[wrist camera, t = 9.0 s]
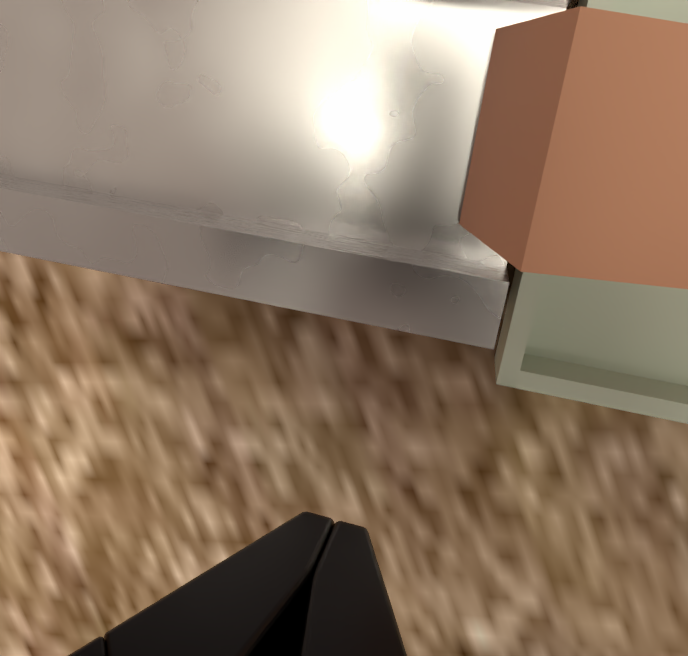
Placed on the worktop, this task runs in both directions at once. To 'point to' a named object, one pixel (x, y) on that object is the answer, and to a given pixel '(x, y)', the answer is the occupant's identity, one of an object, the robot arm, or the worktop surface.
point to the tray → (600, 321)
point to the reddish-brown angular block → (585, 148)
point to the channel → (258, 150)
